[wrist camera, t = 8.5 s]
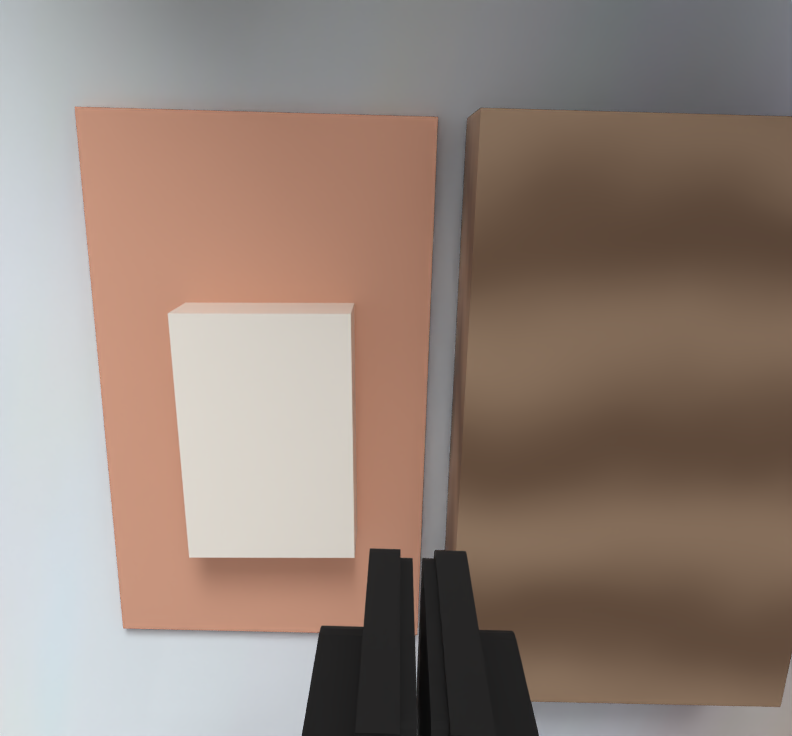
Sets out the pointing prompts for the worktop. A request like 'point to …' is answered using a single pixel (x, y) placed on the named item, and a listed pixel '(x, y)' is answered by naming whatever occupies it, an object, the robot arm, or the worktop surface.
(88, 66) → the worktop surface
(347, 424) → the ceramic tile
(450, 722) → the robot arm
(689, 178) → the walnut block
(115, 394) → the rubber mat
